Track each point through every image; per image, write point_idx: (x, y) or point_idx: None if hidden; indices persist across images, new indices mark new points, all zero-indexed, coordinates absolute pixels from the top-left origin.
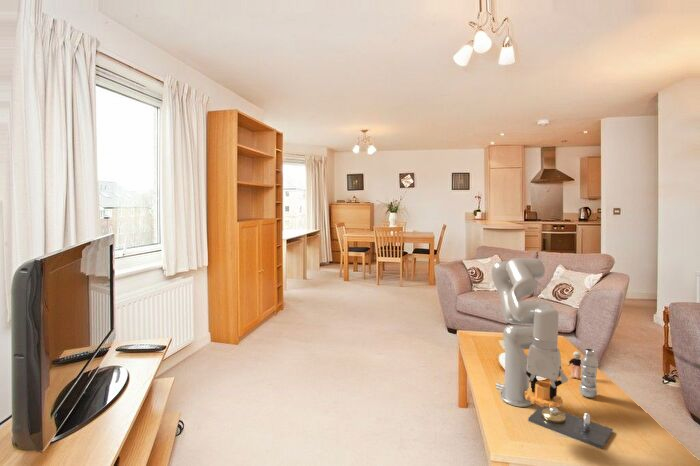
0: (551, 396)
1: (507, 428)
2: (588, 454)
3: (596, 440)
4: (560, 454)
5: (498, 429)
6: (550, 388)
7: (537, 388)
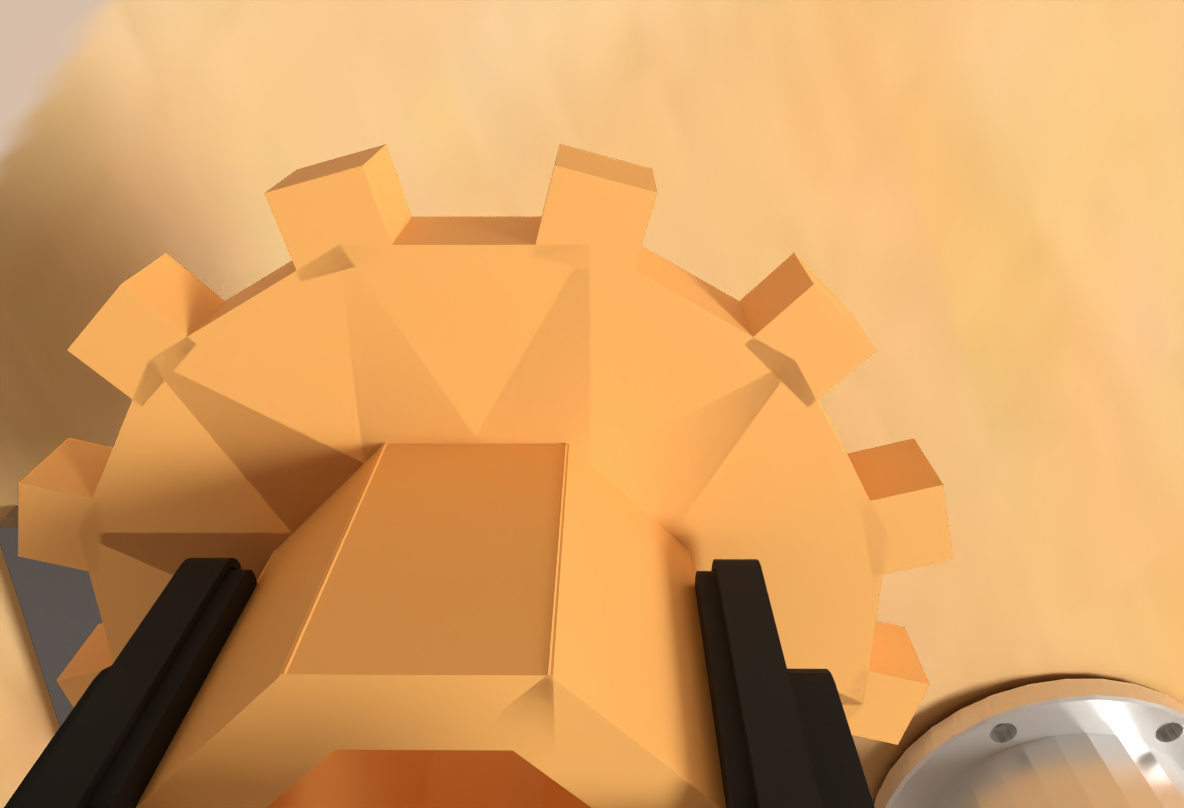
0: (174, 592)
1: (965, 154)
2: (43, 312)
3: (83, 581)
4: (231, 64)
5: (1067, 30)
6: (105, 790)
7: (553, 611)
